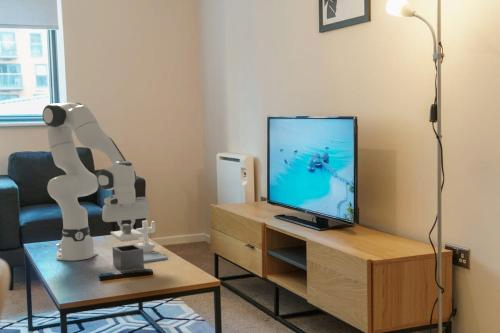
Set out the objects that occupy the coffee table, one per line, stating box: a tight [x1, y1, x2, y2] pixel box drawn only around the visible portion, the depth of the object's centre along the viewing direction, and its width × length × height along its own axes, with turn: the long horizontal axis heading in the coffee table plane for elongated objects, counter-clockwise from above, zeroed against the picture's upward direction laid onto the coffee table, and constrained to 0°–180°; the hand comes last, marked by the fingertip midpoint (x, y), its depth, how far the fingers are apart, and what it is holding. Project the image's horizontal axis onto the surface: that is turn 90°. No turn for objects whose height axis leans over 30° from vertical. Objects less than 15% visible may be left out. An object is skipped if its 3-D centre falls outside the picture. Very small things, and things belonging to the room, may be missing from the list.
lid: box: [110, 223, 143, 243], centre depth 288 cm, size 13×11×6 cm
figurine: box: [135, 220, 156, 253], centre depth 317 cm, size 7×9×15 cm
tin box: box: [112, 243, 145, 272], centre depth 290 cm, size 12×10×8 cm
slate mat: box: [143, 251, 169, 264], centre depth 304 cm, size 14×12×1 cm
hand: (126, 230), depth 288 cm, fingers closed on lid, 2 cm apart
